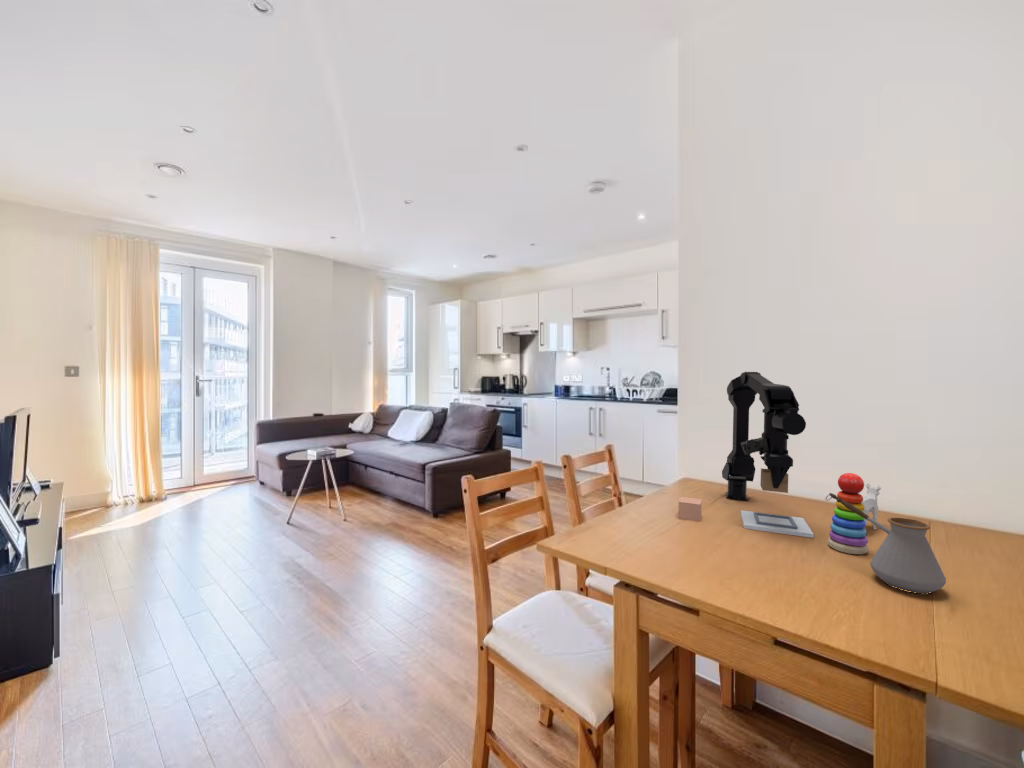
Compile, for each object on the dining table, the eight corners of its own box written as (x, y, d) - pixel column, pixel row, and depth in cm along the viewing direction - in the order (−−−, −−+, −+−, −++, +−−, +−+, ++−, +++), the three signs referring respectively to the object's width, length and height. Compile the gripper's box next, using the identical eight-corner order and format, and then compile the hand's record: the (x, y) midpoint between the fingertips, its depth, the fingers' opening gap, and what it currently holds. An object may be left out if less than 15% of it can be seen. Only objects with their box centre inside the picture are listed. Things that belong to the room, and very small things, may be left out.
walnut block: (760, 485, 128) (760, 468, 128) (784, 487, 125) (785, 470, 125) (762, 490, 122) (763, 472, 122) (787, 492, 120) (788, 474, 120)
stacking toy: (820, 545, 109) (822, 470, 109) (839, 540, 112) (841, 468, 112) (856, 558, 102) (858, 478, 101) (875, 552, 105) (878, 474, 105)
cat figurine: (884, 526, 124) (886, 476, 123) (855, 541, 113) (857, 486, 112) (864, 521, 127) (866, 473, 127) (835, 535, 116) (837, 482, 116)
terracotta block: (679, 512, 134) (680, 496, 134) (701, 515, 132) (701, 499, 131) (678, 518, 129) (678, 501, 128) (700, 521, 126) (701, 504, 126)
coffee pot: (958, 593, 86) (961, 517, 86) (926, 604, 82) (929, 524, 81) (840, 551, 106) (842, 489, 105) (809, 559, 101) (811, 494, 101)
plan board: (740, 513, 134) (740, 508, 133) (802, 521, 127) (803, 515, 127) (744, 528, 121) (744, 522, 121) (813, 537, 114) (813, 531, 114)
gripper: (741, 425, 135) (739, 475, 136) (745, 432, 118) (744, 489, 119) (783, 427, 131) (781, 479, 131) (794, 435, 114) (792, 495, 114)
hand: (774, 485), depth 124 cm, fingers closed on walnut block, 6 cm apart
